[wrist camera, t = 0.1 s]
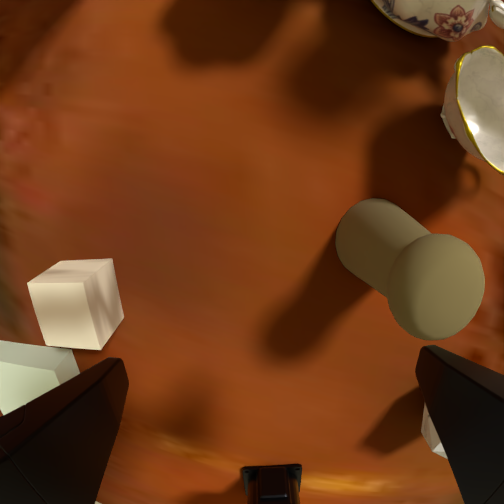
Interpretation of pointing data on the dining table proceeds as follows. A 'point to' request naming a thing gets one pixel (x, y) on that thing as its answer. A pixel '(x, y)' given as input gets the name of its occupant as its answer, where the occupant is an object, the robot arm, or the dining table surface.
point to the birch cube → (77, 303)
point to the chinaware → (463, 69)
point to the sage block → (31, 372)
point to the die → (431, 434)
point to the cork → (412, 268)
